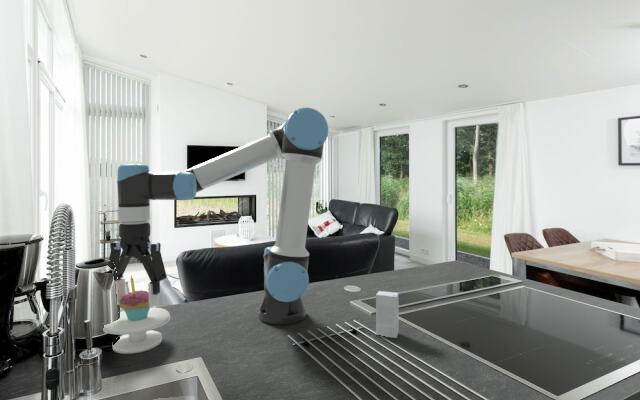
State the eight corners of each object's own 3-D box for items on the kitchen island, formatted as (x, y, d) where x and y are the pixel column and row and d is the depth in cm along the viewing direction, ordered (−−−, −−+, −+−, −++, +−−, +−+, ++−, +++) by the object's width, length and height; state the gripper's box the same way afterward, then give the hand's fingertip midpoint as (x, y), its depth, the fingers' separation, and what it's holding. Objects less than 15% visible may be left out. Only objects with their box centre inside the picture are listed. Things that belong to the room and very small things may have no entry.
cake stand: (182, 333, 107) (182, 309, 107) (143, 361, 91) (143, 332, 91) (133, 328, 111) (132, 305, 110) (87, 354, 95) (86, 326, 94)
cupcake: (140, 324, 95) (139, 278, 95) (111, 322, 97) (110, 276, 97) (161, 313, 104) (160, 270, 103) (134, 310, 106) (133, 269, 105)
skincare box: (398, 332, 108) (399, 292, 107) (396, 338, 104) (397, 296, 103) (377, 330, 110) (378, 290, 109) (375, 335, 106) (375, 294, 105)
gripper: (180, 221, 100) (181, 303, 102) (110, 219, 105) (112, 297, 106) (162, 225, 93) (164, 312, 94) (88, 222, 98) (91, 306, 99)
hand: (136, 304), depth 100 cm, fingers open, 9 cm apart
